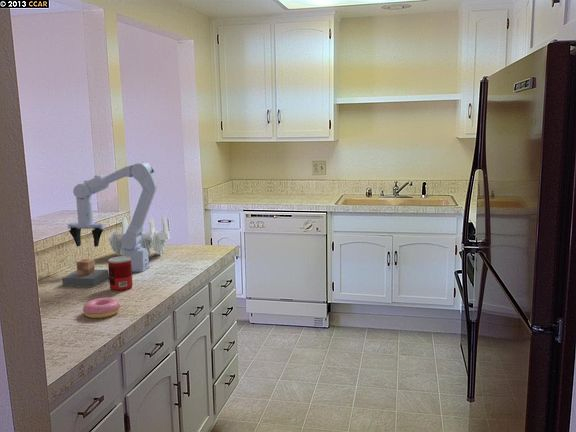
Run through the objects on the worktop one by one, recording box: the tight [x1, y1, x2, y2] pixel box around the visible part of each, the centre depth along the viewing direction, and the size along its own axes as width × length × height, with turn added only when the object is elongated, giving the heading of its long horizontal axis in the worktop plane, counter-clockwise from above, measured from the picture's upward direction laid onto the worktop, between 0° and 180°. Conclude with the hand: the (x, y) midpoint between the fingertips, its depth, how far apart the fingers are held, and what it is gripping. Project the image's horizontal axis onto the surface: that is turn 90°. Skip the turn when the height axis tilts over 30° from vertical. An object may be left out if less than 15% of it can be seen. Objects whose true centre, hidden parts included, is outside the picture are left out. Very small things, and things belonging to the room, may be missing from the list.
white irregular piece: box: [108, 216, 170, 256], centre depth 234 cm, size 18×18×25 cm
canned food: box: [107, 255, 134, 292], centre depth 185 cm, size 8×8×11 cm
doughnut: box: [82, 297, 121, 319], centre depth 161 cm, size 11×11×4 cm
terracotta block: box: [76, 258, 96, 275], centre depth 194 cm, size 4×4×5 cm
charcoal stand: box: [61, 269, 109, 288], centre depth 195 cm, size 12×12×3 cm
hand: (87, 246), depth 210 cm, fingers open, 7 cm apart
